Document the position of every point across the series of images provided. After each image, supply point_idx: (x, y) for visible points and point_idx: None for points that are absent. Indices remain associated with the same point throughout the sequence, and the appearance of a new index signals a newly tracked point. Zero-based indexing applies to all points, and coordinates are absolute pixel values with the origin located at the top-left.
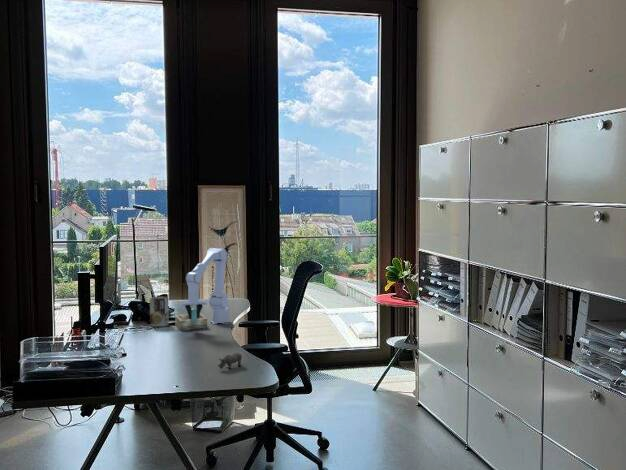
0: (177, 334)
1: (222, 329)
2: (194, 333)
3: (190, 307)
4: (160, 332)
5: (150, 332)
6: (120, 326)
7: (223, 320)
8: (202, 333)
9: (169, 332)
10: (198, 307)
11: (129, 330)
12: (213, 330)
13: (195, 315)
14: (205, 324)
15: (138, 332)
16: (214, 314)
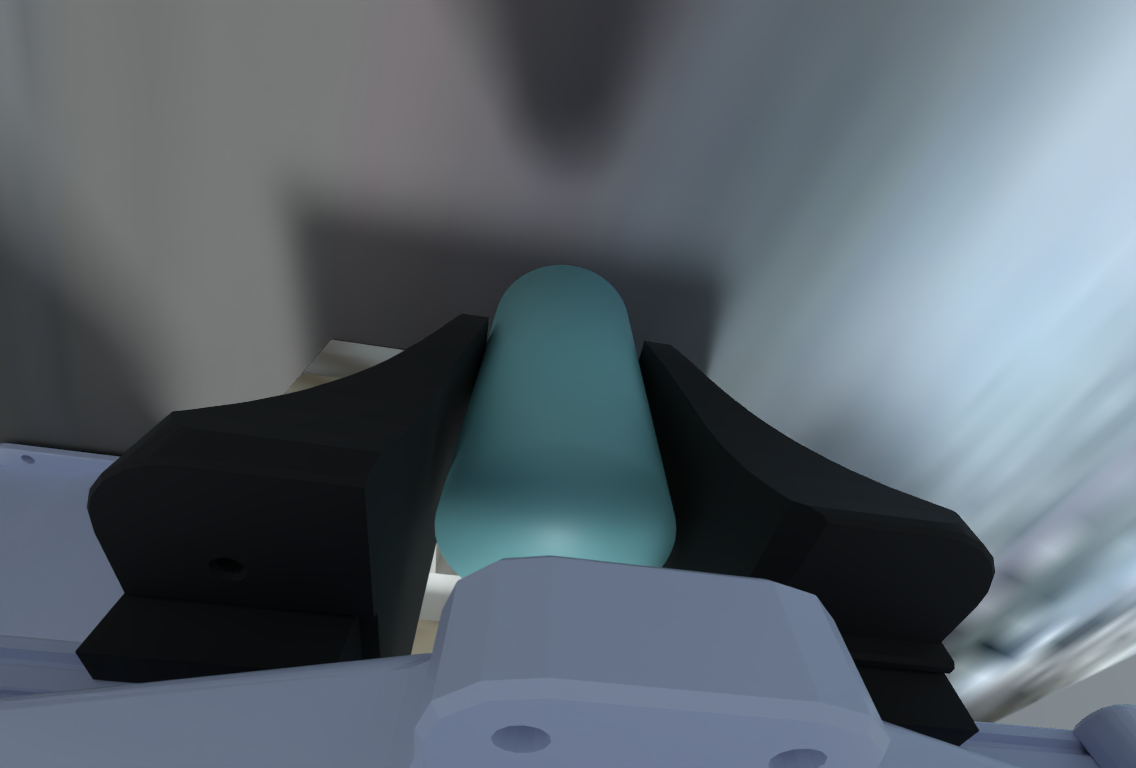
0: (873, 197)
1: (78, 139)
2: (615, 109)
3: (840, 518)
4: (950, 419)
5: (1027, 468)
6: (1009, 713)
7: (52, 490)
8: (488, 19)
9: (872, 368)
10: (383, 445)
11: (1084, 607)
12: (249, 151)
13: (543, 338)
14: (333, 372)
15: (1106, 519)
16: (119, 595)
